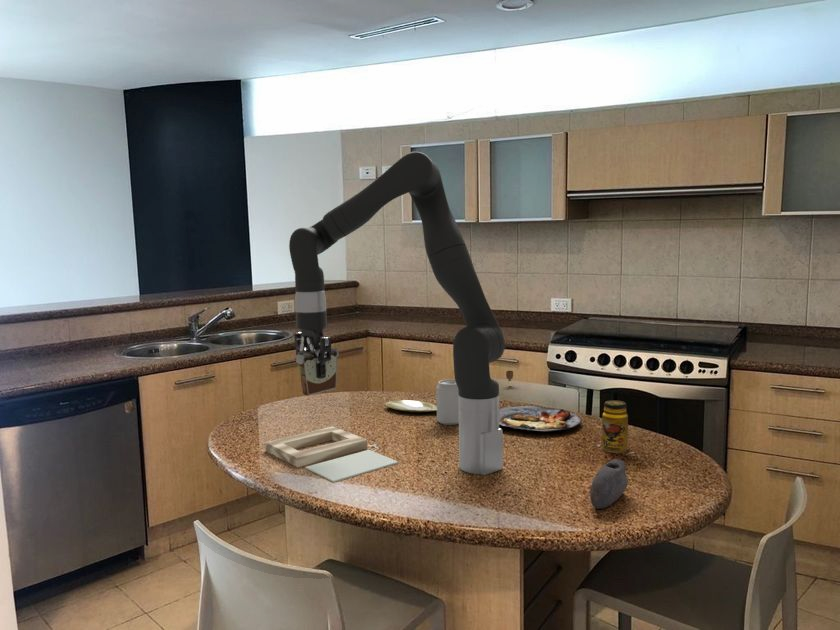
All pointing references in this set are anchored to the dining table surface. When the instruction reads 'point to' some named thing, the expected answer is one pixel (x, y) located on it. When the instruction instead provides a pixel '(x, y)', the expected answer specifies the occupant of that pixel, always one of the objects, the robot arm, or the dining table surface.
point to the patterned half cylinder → (310, 376)
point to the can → (447, 402)
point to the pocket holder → (288, 446)
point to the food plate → (546, 422)
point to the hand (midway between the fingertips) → (313, 375)
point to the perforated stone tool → (608, 484)
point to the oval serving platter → (411, 406)
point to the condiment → (615, 427)
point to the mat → (351, 465)
